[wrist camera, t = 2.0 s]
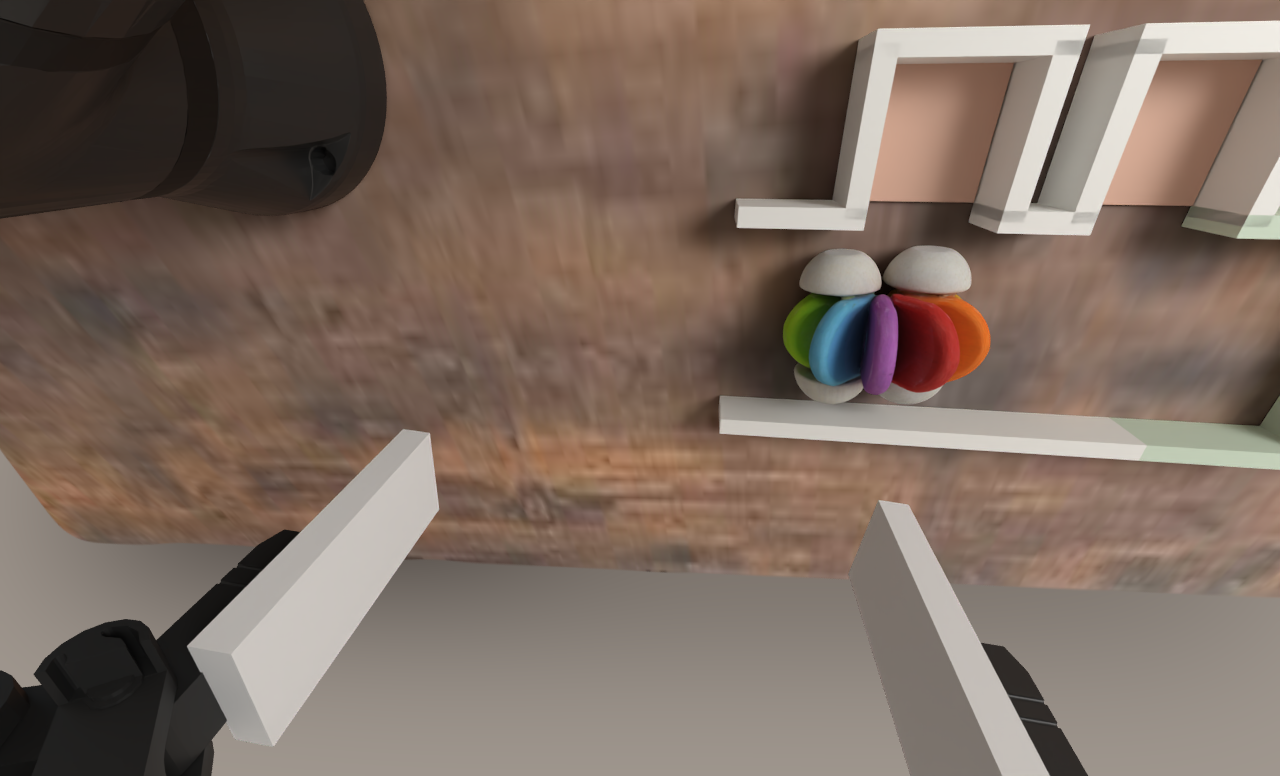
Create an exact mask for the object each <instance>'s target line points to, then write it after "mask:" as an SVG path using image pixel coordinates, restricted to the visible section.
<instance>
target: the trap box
mask: <svg viewBox="0 0 1280 776" xmlns="http://www.w3.org/2000/svg"><path fill="white" fill-rule="evenodd" d="M1089 27H1090V25H1044V26H993V27H943V28H892V29H877V30H875V31H873V32H871V33H869V34H868V35H866V36H864V37H862V38H861V39H859V42H858V48H857V54H856V60H855V66H854V72H853V78H852V84H851V90H850V96H849V102H848V108H847V114H846V120H845V126H844V132H843V138H842V145H841V151H840V157H839V163H838V169H837V175H836V181H835V187H834V193H833V199H832V200H805V199H739V198H736V204H735V216H734V218H735V222H736V226H737V228H767V229H814V230H861V231H864V226H865V220H866V215H867V210H868V205H869V201H904V202H970V203H974V204H973V207H972V211H971V214H970V218H969V221H968V223H971V224H974V225H976V226H979V227H982V228H984V229H987V230H989V231H992V232H995V233H1003V234H1050V235H1090V234H1091V232H1092V229H1093V227H1094V224H1095V222H1096V219H1097V217H1098V214H1099V212H1100V209H1101V207H1102V205H1167V206H1191V207H1190V209H1189V211H1188V213H1187V215H1186V217H1185V220H1184V222H1183V224H1182V226H1181V227H1186V228H1191V229H1195V230H1200V231H1204V232H1209V233H1213V234H1218V235H1223V236H1227V237H1232V238H1238V239H1280V207H1279V206H1280V21H1246V22H1195V23H1146V24H1142V25H1137V26H1133V27H1129V28H1124V29H1120V30H1116V31H1111V32H1107V33H1103V34H1098V35H1095V36H1094V39H1093V42H1092V45H1091V48H1090V51H1089V54H1088V56H1087V59H1086V62H1085V65H1084V68H1083V71H1082V74H1081V77H1080V80H1079V83H1078V86H1077V89H1076V91H1075V94H1074V97H1073V100H1072V103H1071V106H1070V109H1069V112H1068V115H1067V118H1066V121H1065V124H1064V126H1063V129H1062V132H1061V135H1060V138H1059V141H1058V144H1057V147H1056V150H1055V153H1054V156H1053V159H1052V162H1051V164H1050V167H1049V170H1048V173H1047V176H1046V179H1045V182H1044V185H1043V188H1042V191H1041V194H1040V197H1039V199H1038V202H1037V203H1030V202H1031V199H1032V196H1033V193H1034V190H1035V187H1036V185H1037V182H1038V179H1039V176H1040V173H1041V170H1042V167H1043V164H1044V161H1045V158H1046V155H1047V152H1048V149H1049V146H1050V143H1051V140H1052V137H1053V134H1054V131H1055V128H1056V125H1057V122H1058V119H1059V116H1060V113H1061V110H1062V107H1063V104H1064V101H1065V98H1066V95H1067V92H1068V89H1069V86H1070V84H1071V81H1072V78H1073V75H1074V72H1075V69H1076V66H1077V63H1078V60H1079V57H1080V54H1081V51H1082V48H1083V45H1084V42H1085V39H1086V36H1087V33H1088V30H1089ZM1013 64H1014V65H1013ZM1011 71H1012V72H1011ZM1009 78H1010V79H1009ZM1007 85H1008V86H1007ZM1005 92H1006V93H1005ZM1003 99H1004V100H1003ZM1001 106H1002V107H1001ZM1000 109H1001V110H1000ZM998 116H999V117H998ZM996 123H997V124H996ZM994 130H995V131H994ZM992 137H993V138H992ZM990 144H991V145H990ZM988 151H989V152H988ZM986 158H987V159H986ZM984 165H985V166H984ZM982 172H983V173H982ZM980 179H981V180H980ZM979 182H980V183H979ZM977 189H978V190H977ZM975 196H976V197H975ZM719 434H734V435H750V436H765V437H781V438H796V439H812V440H827V441H843V442H858V443H874V444H889V445H905V446H920V447H936V448H951V449H967V450H982V451H998V452H1013V453H1029V454H1044V455H1060V456H1075V457H1091V458H1106V459H1122V460H1138V461H1153V462H1169V463H1184V464H1200V465H1215V466H1231V467H1246V468H1262V469H1277V470H1280V396H1279V397H1278V399H1277V400H1276V402H1275V403H1274V405H1273V406H1272V408H1271V409H1270V411H1269V413H1268V414H1267V416H1266V417H1265V419H1264V420H1263V422H1262V423H1261V425H1260V426H1252V425H1234V424H1217V423H1199V422H1181V421H1163V420H1146V419H1128V418H1110V417H1093V416H1075V415H1057V414H1040V413H1022V412H1004V411H986V410H969V409H951V408H933V407H916V406H898V405H880V404H863V403H845V402H843V403H839V404H825V403H821V402H817V401H809V400H792V399H774V398H756V397H739V396H721V395H720V399H719Z"/></svg>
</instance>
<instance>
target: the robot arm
mask: <svg viewBox="0 0 1280 776" xmlns="http://www.w3.org/2000/svg"><path fill="white" fill-rule="evenodd" d="M386 101H387V95H386V80H385V71H384V65H383V59H382V55H381V51H380V46H379V43H378V39H377V36H376V32H375V29H374V26H373V24H372V21H371V18H370V16H369V13H368V11H367V8H366V6H365V4H364V1H363V0H0V219H1V218H8V217H15V216H22V215H29V214H36V213H43V212H50V211H57V210H64V209H71V208H79V207H86V206H93V205H100V204H107V203H114V202H122V201H128V200H135V199H143V198H151V197H163V198H168V199H173V200H179V201H184V202H189V203H194V204H199V205H204V206H209V207H215V208H220V209H225V210H230V211H235V212H240V213H245V214H252V215H264V216H274V215H287V214H293V213H297V212H302V211H307V210H312V209H316V208H320V207H324V206H327V205H329V204H331V203H334V202H336V201H337V200H339V199H341V198H343V197H344V196H345V195H347V194H348V193H349V192H351V191H352V190H353V189H354V188H355V187H356V186H357V185H358V184H359V183H360V182H361V180H362V179H363V178H364V177H365V175H366V174H367V172H368V171H369V169H370V167H371V165H372V164H373V162H374V160H375V157H376V155H377V152H378V150H379V147H380V144H381V140H382V136H383V132H384V126H385V119H386ZM438 510H439V504H438V496H437V488H436V480H435V472H434V464H433V455H432V447H431V439H430V433H426V432H419V431H413V430H406V429H403V430H402V431H401V432H400V433H399V434H398V435H397V436H396V437H395V438H394V439H393V440H392V441H391V442H390V443H389V444H388V445H387V446H386V447H385V448H384V449H383V450H382V451H381V452H380V453H379V454H378V455H377V456H376V457H375V458H374V459H373V460H372V461H371V462H370V463H369V464H368V465H367V466H366V467H365V468H364V469H363V470H362V471H361V472H360V473H359V474H358V475H357V476H356V477H355V478H354V479H353V480H352V481H351V482H350V483H349V484H348V485H347V486H346V487H345V488H344V489H343V490H342V491H341V492H340V493H339V494H338V495H337V496H336V497H335V498H334V499H333V500H332V501H331V502H330V503H329V504H328V505H327V506H326V507H325V508H324V509H323V510H322V511H321V512H320V513H319V514H318V515H317V516H316V517H315V518H314V519H313V520H312V521H311V522H310V523H309V524H308V525H307V526H306V527H305V528H304V529H303V530H302V531H301V532H296V531H290V530H283V531H281V532H279V533H278V534H276V535H274V536H273V537H271V538H269V539H267V540H266V541H264V542H262V543H260V544H259V545H257V546H256V547H255V548H254V549H253V550H252V551H251V552H250V553H249V554H248V555H247V556H246V557H245V558H244V559H243V560H242V561H241V562H239V563H238V566H237V568H233V569H232V570H231V571H230V572H229V573H228V574H227V575H225V577H223V578H222V579H221V583H220V584H216V585H215V586H214V587H213V588H212V589H211V590H210V591H208V592H207V593H206V594H205V595H204V596H203V597H202V598H201V599H200V600H199V601H198V602H197V603H196V604H195V605H193V606H192V607H191V608H190V609H189V610H188V611H187V612H186V613H185V614H184V615H183V616H182V617H181V618H180V619H179V620H177V621H176V622H175V623H174V624H173V625H172V626H171V627H170V628H169V629H168V630H167V631H166V632H165V633H164V634H163V635H162V636H160V637H159V638H158V639H157V640H155V638H154V636H153V634H152V632H151V631H150V629H149V627H147V626H146V625H145V624H143V623H142V622H141V621H136V620H128V619H124V620H118V621H113V622H107V623H103V624H101V625H98V626H96V627H93V628H90V629H88V630H85V631H83V632H81V633H80V634H78V635H76V636H74V637H73V638H71V639H69V640H68V641H66V642H64V643H63V644H61V645H60V646H59V647H58V648H57V649H55V650H54V651H53V652H52V653H51V654H50V655H48V656H47V657H46V658H45V659H44V660H43V662H42V663H41V665H40V666H39V668H38V669H37V670H36V672H35V673H34V675H35V677H36V678H37V679H38V681H39V682H40V683H41V684H42V685H39V686H31V687H24V688H22V687H21V686H20V685H19V684H18V683H17V681H16V680H15V679H14V678H13V677H12V676H11V675H9V674H8V673H6V672H3V671H0V776H211V773H212V765H213V757H214V749H213V743H212V739H213V737H214V736H215V735H216V734H217V732H218V731H219V730H220V729H221V727H222V726H223V725H224V724H225V722H226V723H227V725H228V727H229V729H230V731H231V733H232V735H233V736H234V738H235V740H241V741H246V742H251V743H256V744H262V745H267V746H272V747H274V745H275V744H276V742H277V741H278V739H279V738H280V737H281V735H282V734H283V732H284V731H285V729H286V728H287V726H288V725H289V723H290V722H291V720H292V719H293V718H294V716H295V715H296V713H297V712H298V711H299V709H300V708H301V706H302V705H303V703H304V702H305V701H306V699H307V698H308V696H309V695H310V694H311V692H312V690H313V689H314V688H315V686H316V685H317V683H318V682H319V680H320V679H321V678H322V676H323V675H324V673H325V672H326V671H327V669H328V668H329V666H330V665H331V663H332V662H333V661H334V659H335V658H336V656H337V655H338V653H339V652H340V650H341V649H342V648H343V646H344V645H345V643H346V642H347V640H348V639H349V638H350V636H351V635H352V633H353V632H354V630H355V629H356V627H357V626H358V624H359V623H360V622H361V620H362V619H363V618H364V616H365V615H366V613H367V612H368V610H369V609H370V608H371V606H372V604H373V603H374V602H375V600H376V599H377V597H378V596H379V595H380V593H381V591H382V590H383V589H384V587H385V586H386V585H387V583H388V582H389V580H390V579H391V577H392V576H393V574H394V573H395V572H396V570H397V569H398V567H399V566H400V564H401V563H402V562H403V560H404V559H405V557H406V556H407V554H408V553H409V552H410V550H411V549H412V547H413V546H414V544H415V543H416V542H417V540H418V539H419V537H420V536H421V534H422V533H423V532H424V530H425V529H426V527H427V526H428V524H429V523H430V521H431V520H432V519H433V517H434V516H435V514H436V513H437V511H438ZM848 575H849V578H850V581H851V584H852V587H853V591H854V594H855V597H856V601H857V604H858V607H859V610H860V614H861V617H862V620H863V624H864V626H865V630H866V633H867V636H868V639H869V643H870V646H871V649H872V653H873V656H874V659H875V662H876V665H877V669H878V672H879V675H880V679H881V682H882V685H883V688H884V692H885V695H886V698H887V701H888V705H889V708H890V711H891V714H892V718H893V721H894V724H895V727H896V730H897V734H898V737H899V740H900V743H901V747H902V750H903V753H904V757H905V760H906V763H907V766H908V769H909V773H910V776H1088V775H1087V773H1086V772H1085V770H1084V768H1083V766H1082V765H1081V763H1080V761H1079V759H1078V758H1077V756H1076V754H1075V752H1074V751H1073V749H1072V747H1071V745H1070V744H1069V742H1068V740H1067V739H1066V737H1065V735H1064V733H1063V732H1062V730H1061V729H1060V728H1058V727H1057V721H1056V720H1055V718H1054V716H1053V715H1052V713H1051V711H1050V709H1049V708H1048V706H1047V705H1045V704H1044V699H1043V697H1042V696H1041V694H1040V692H1039V690H1038V689H1037V687H1036V685H1035V683H1034V682H1033V680H1032V678H1031V676H1030V675H1029V673H1028V672H1027V671H1026V669H1025V668H1024V667H1023V666H1022V665H1021V664H1020V663H1019V662H1018V661H1017V660H1016V659H1015V658H1014V657H1013V656H1012V655H1011V654H1010V653H1009V652H1008V650H1006V648H1005V647H1003V646H997V645H991V644H984V643H980V641H979V639H978V637H977V635H976V633H975V631H974V629H973V628H972V626H971V624H970V622H969V620H968V618H967V616H966V614H965V612H964V610H963V609H962V607H961V605H960V603H959V601H958V599H957V597H956V595H955V593H954V591H953V589H952V588H951V585H950V583H949V582H948V580H947V578H946V576H945V574H944V572H943V570H942V568H941V566H940V564H939V562H938V560H937V559H936V557H935V555H934V553H933V551H932V549H931V547H930V545H929V543H928V541H927V539H926V537H925V536H924V534H923V532H922V530H921V528H920V526H919V524H918V522H917V520H916V518H915V516H914V514H913V513H912V511H911V509H910V507H909V505H908V504H901V503H895V502H888V501H881V500H878V503H877V505H876V507H875V510H874V512H873V515H872V517H871V520H870V522H869V525H868V527H867V530H866V532H865V534H864V537H863V539H862V542H861V544H860V547H859V549H858V552H857V554H856V556H855V559H854V561H853V564H852V566H851V569H850V571H849V574H848Z"/></svg>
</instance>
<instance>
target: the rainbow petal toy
mask: <svg viewBox="0 0 1280 776" xmlns="http://www.w3.org/2000/svg"><path fill="white" fill-rule="evenodd" d="M883 281H884V282H885V283H886V284H887V285H890V286H892V287H894V288H896V289H893V290H891V291H890V293H889V294H888V295H884V294H881V295H874V293H875V292H876V291H878V290H880V288H881V284H882V281H881V275H880V272H879V269H878V267H877V265H876V264H875V262H874V261H873V260H872V259H871V258H870V257H869V256H868V255H867V254H865V253H863V252H861V251H858V250H853V249H831V250H826V251H824V252H822V253H820V254H818V255H817V256H815V257H814V258H813V259H812V260H811V261H810V262H809V263H808V264H807V266H806V267H805V269H804V270H803V272H802V275H801V278H800V281H799V286H800V287H801V288H802V289H804V290H806V291H809V292H812V293H811V294H809V295H808V296H806V297H805V298H804V299H803V300H801V301H800V302H799V303H798V304H797V305H796V306H795V307H794V308H793V309H792V311H791V312H790V313H789V315H788V317H787V319H786V321H785V323H784V327H783V341H784V345H785V347H786V349H787V351H788V352H789V353H790V355H791V356H792V357H793V358H794V359H795V360H796V361H798V362H799V363H797V364H796V366H795V368H794V374H795V379H796V382H797V384H798V386H799V387H800V389H801V390H802V391H803V392H804V393H805V394H806V395H807V396H808V397H810V398H811V399H813V400H815V401H817V402H821V403H825V404H839V403H843V402H846V401H848V400H850V399H852V398H854V397H855V396H857V395H858V394H859V393H860V392H861V391H862V389H863V388H864V390H865V391H866V392H867V393H869V394H873V395H878V394H879V395H880V396H881V397H883V398H884V399H886V400H888V401H891V402H894V403H898V404H915V403H919V402H922V401H925V400H927V399H929V398H931V397H932V396H934V395H935V394H936V393H937V392H938V391H939V390H940V389H941V387H942V386H943V385H944V384H945V383H946V382H949V381H953V380H956V379H959V378H961V377H963V376H965V375H967V374H969V373H970V372H972V371H973V370H974V369H976V368H977V367H978V366H979V365H980V364H981V362H982V361H983V360H984V358H985V357H986V355H987V353H988V351H989V348H990V332H989V329H988V326H987V324H986V321H985V320H984V318H983V316H982V315H981V314H980V312H979V311H978V310H977V309H976V308H974V307H973V306H972V305H970V304H969V303H967V302H965V301H963V300H962V299H961V298H960V297H959V296H958V295H956V294H957V293H961V292H963V291H966V290H968V289H969V288H970V285H971V272H970V269H969V266H968V264H967V262H966V261H965V259H964V258H963V257H962V256H961V254H959V253H958V252H957V251H955V250H953V249H951V248H947V247H941V246H930V245H926V246H914V247H911V248H908V249H906V250H904V251H903V252H901V253H900V254H899V255H897V256H896V257H895V258H894V259H893V260H892V261H891V262H890V264H889V265H888V267H887V269H886V270H885V272H884V275H883Z"/></svg>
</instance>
